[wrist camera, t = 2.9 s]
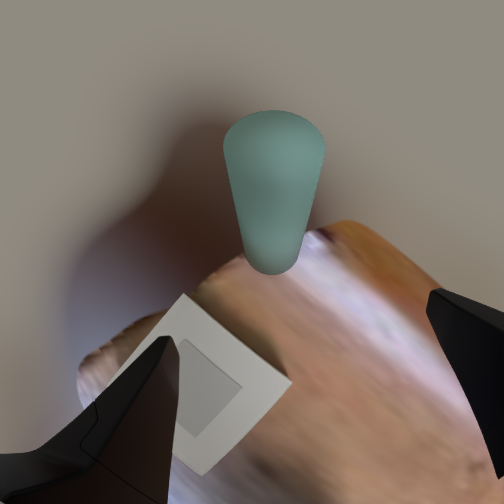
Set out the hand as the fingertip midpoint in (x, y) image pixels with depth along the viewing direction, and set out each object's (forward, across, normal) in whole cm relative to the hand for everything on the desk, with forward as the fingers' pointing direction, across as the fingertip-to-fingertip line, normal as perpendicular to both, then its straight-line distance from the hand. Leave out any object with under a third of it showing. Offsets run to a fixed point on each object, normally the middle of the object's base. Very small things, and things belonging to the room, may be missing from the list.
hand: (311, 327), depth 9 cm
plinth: (+8, +7, +12) cm, 16 cm away
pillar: (+15, 0, +4) cm, 16 cm away
